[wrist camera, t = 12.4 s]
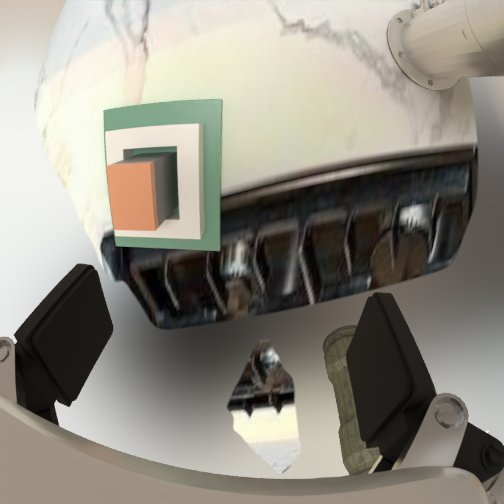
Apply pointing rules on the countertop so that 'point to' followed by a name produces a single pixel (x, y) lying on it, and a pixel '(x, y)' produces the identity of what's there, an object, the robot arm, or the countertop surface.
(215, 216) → the board
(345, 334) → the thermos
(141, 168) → the plug
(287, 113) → the countertop surface
